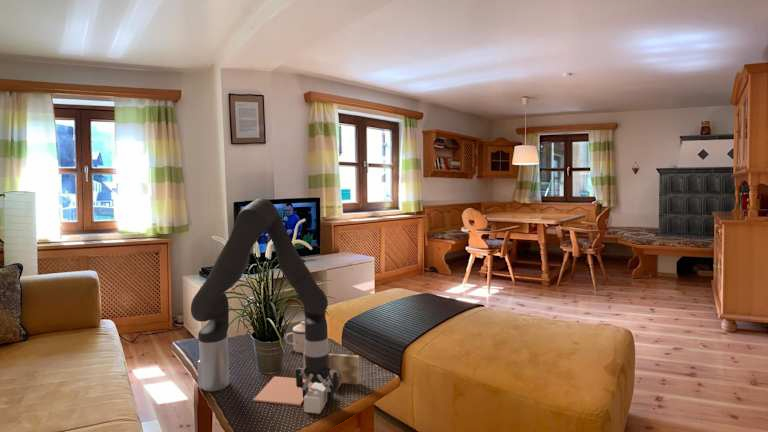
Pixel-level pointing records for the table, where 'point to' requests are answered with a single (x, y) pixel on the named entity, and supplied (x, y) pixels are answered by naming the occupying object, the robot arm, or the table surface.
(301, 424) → the table surface
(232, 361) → the table surface
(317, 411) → the white block
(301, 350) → the teacup with lid
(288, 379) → the terracotta tile
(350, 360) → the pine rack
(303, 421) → the table surface
